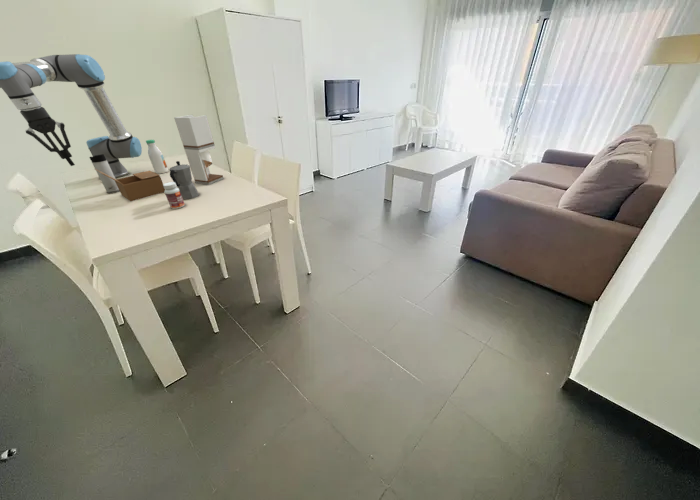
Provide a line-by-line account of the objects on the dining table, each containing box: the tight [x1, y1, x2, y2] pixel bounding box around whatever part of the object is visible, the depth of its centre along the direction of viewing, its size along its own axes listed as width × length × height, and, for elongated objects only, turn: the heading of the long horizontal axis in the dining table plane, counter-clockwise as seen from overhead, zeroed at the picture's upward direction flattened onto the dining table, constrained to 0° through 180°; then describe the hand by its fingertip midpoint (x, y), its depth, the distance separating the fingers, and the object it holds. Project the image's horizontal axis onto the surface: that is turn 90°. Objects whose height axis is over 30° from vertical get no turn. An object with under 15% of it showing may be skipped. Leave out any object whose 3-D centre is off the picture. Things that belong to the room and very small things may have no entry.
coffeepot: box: [168, 160, 200, 200], centre depth 141 cm, size 15×9×18 cm, turn 0°
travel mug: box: [88, 154, 120, 194], centre depth 150 cm, size 6×7×20 cm
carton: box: [115, 170, 166, 202], centre depth 149 cm, size 17×14×9 cm
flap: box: [94, 168, 122, 184], centre depth 138 cm, size 8×14×1 cm
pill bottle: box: [163, 181, 186, 210], centre depth 132 cm, size 6×6×11 cm
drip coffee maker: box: [173, 114, 224, 186], centre depth 158 cm, size 11×11×35 cm
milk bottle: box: [145, 139, 169, 175], centre depth 180 cm, size 8×8×20 cm
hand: (72, 164), depth 128 cm, fingers closed
